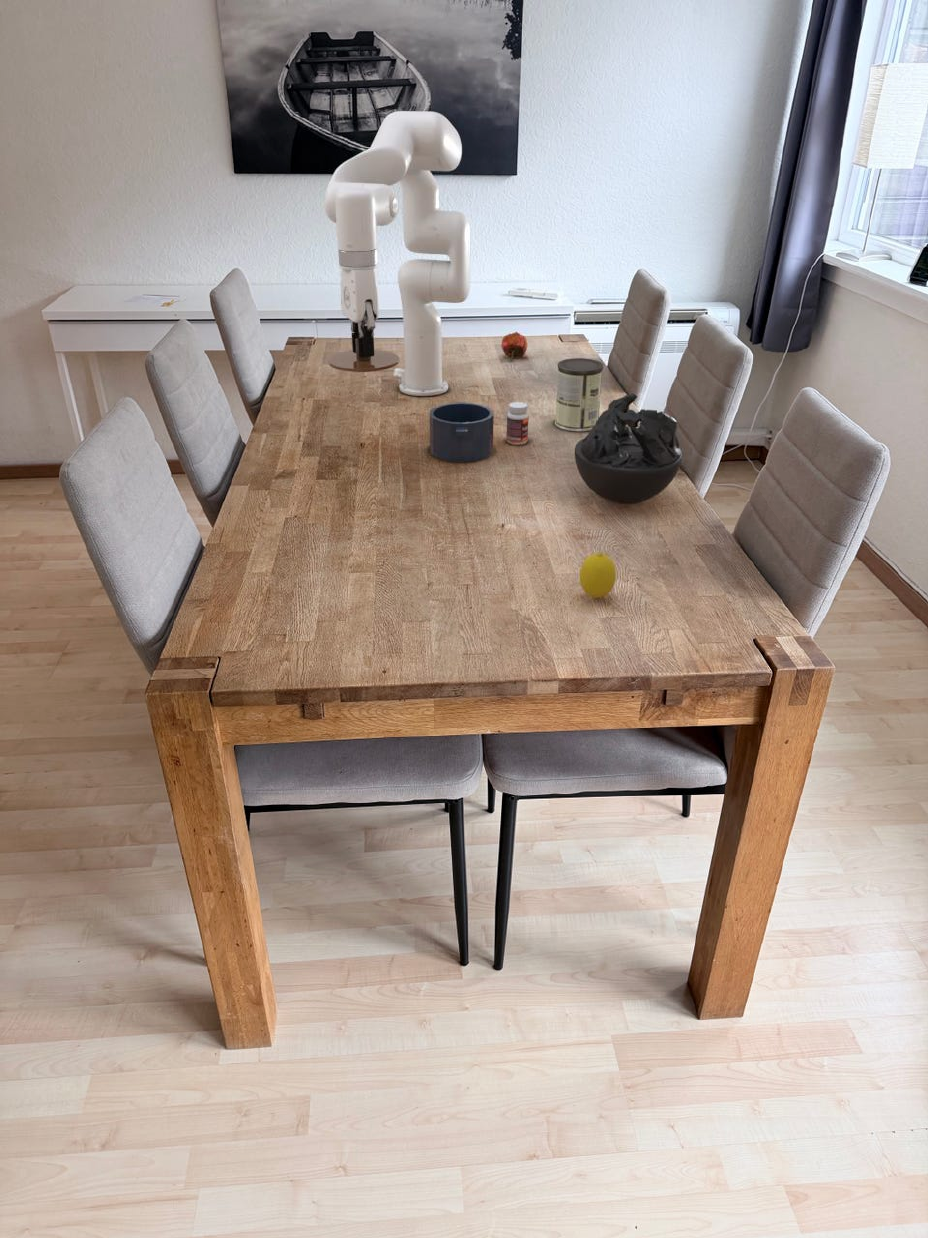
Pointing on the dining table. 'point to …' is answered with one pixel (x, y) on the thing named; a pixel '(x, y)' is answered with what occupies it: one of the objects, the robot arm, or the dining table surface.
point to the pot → (461, 432)
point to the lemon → (598, 575)
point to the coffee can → (578, 394)
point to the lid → (363, 361)
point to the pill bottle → (517, 423)
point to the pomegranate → (514, 345)
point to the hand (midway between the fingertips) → (363, 353)
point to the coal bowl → (629, 453)
